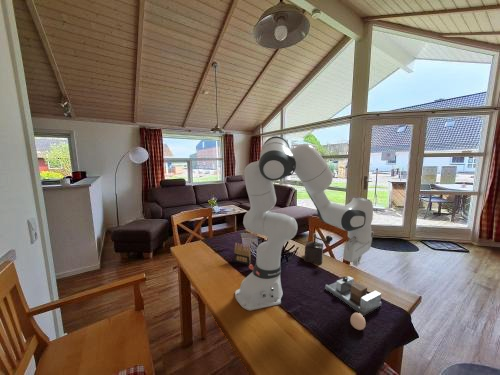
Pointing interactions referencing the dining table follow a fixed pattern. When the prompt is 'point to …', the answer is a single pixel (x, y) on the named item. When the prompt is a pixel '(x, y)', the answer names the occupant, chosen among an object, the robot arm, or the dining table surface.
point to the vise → (365, 306)
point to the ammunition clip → (242, 254)
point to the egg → (358, 321)
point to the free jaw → (344, 284)
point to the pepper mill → (315, 250)
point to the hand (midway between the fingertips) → (356, 264)
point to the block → (358, 292)
